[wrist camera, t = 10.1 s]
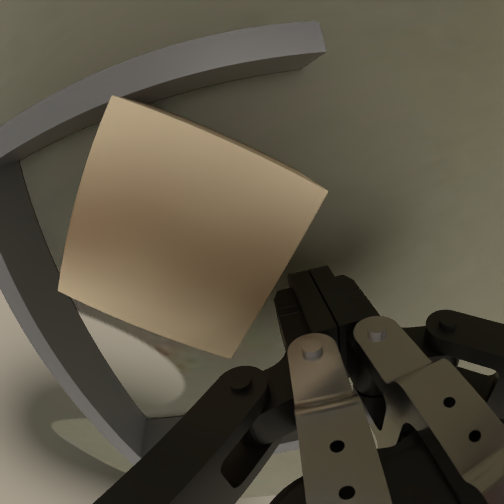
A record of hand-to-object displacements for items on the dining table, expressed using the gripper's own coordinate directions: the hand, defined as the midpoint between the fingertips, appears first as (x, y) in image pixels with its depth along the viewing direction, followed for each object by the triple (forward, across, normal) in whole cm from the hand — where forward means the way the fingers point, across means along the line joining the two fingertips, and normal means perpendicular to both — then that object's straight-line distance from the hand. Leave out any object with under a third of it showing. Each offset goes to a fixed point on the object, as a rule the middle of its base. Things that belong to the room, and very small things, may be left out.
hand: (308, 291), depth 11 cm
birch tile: (+2, +4, -4) cm, 6 cm away
